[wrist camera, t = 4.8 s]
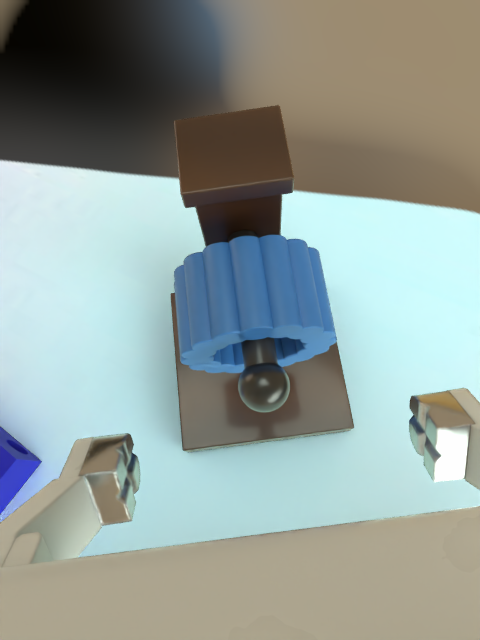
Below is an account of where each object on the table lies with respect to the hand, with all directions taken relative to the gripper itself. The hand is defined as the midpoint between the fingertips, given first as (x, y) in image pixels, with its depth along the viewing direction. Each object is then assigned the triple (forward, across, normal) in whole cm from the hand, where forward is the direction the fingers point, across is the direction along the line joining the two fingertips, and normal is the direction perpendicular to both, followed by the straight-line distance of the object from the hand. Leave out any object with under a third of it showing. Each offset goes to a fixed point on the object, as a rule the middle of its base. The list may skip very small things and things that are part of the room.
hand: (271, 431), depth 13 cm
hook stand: (+15, 0, +6) cm, 16 cm away
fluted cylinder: (+8, 0, +1) cm, 8 cm away
